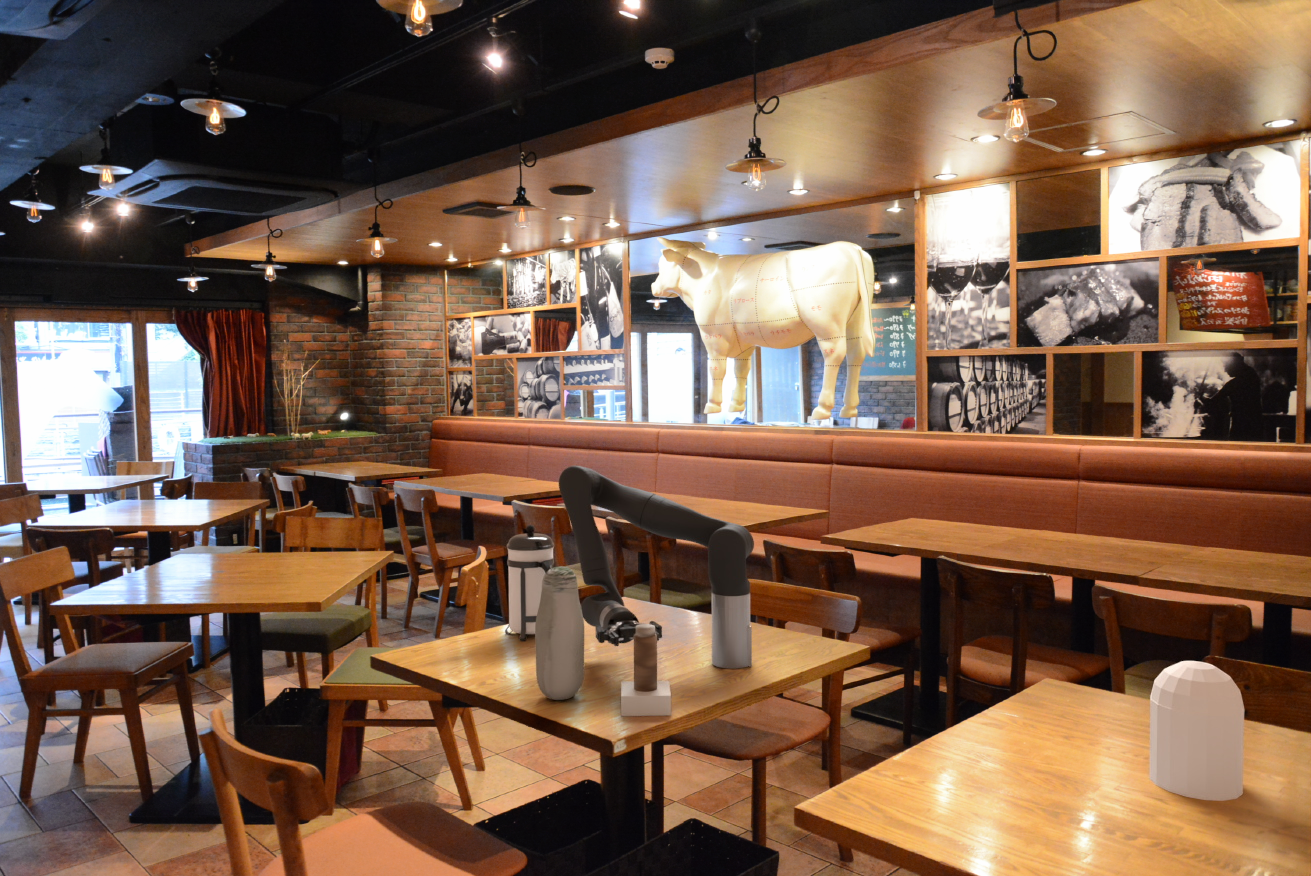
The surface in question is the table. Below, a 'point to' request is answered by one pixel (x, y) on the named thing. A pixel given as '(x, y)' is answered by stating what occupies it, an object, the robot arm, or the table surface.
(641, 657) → the pepper mill
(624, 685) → the riser block
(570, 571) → the grey vase
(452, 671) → the table surface
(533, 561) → the coffee press
